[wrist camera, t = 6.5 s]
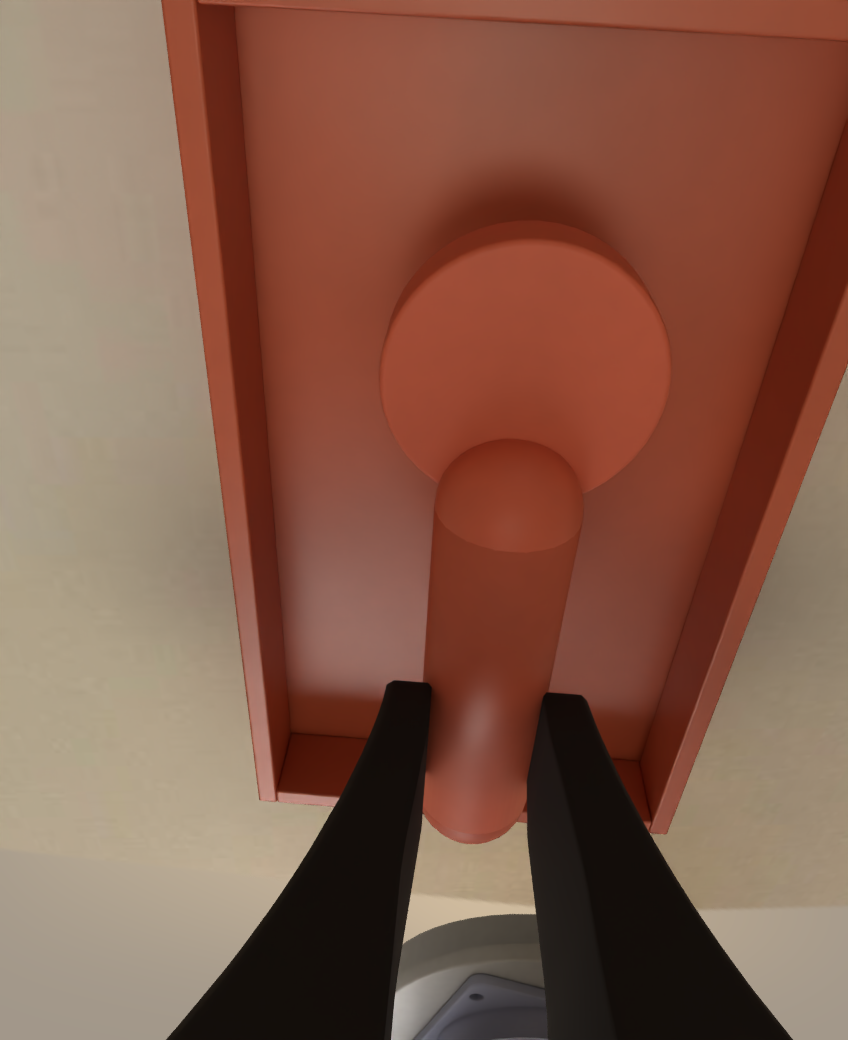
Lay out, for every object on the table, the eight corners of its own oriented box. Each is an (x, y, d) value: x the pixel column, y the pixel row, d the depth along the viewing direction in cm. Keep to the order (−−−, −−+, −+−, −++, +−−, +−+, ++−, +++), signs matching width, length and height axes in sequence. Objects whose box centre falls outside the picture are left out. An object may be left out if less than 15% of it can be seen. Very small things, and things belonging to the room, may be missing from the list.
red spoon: (559, 779, 15) (569, 876, 14) (377, 764, 15) (364, 858, 14) (688, 228, 9) (734, 282, 8) (388, 209, 9) (368, 258, 8)
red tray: (649, 755, 18) (667, 835, 17) (279, 725, 18) (258, 801, 17) (899, 0, 10) (989, 3, 8) (210, -40, 10) (154, -44, 8)
